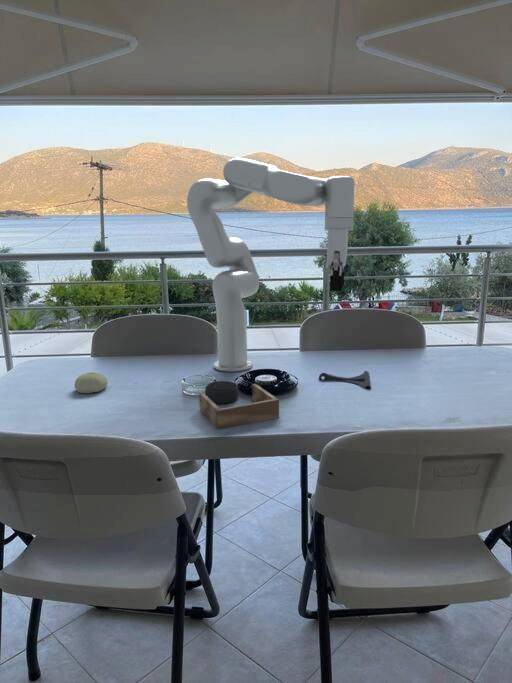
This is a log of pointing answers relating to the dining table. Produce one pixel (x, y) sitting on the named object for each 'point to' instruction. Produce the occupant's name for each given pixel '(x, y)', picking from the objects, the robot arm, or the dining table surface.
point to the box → (241, 409)
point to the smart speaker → (222, 392)
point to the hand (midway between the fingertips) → (336, 288)
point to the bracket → (350, 379)
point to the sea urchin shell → (90, 382)
